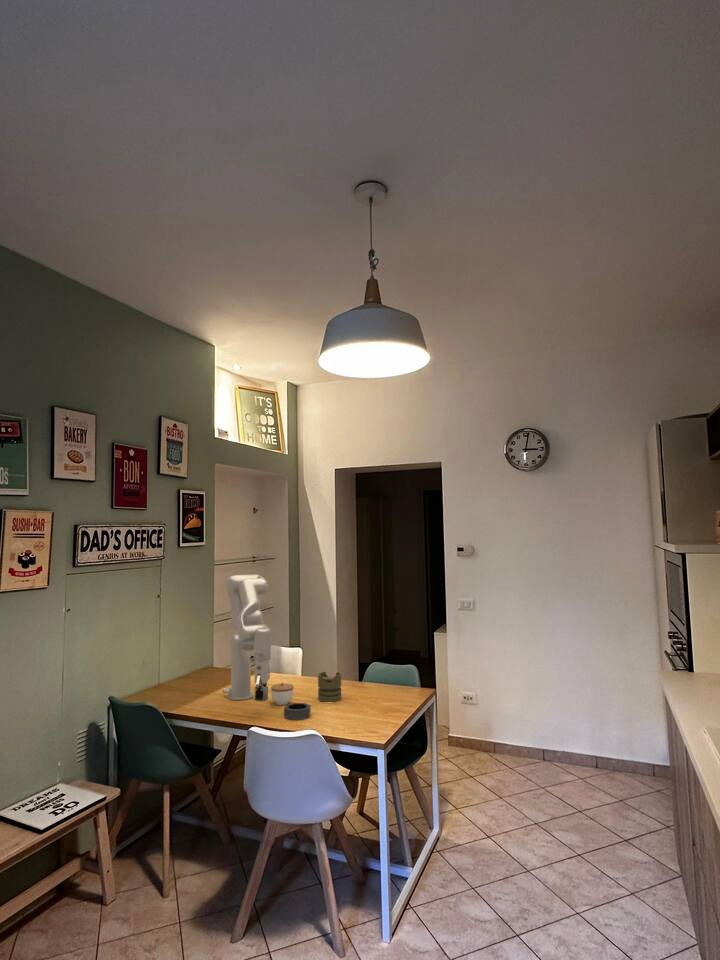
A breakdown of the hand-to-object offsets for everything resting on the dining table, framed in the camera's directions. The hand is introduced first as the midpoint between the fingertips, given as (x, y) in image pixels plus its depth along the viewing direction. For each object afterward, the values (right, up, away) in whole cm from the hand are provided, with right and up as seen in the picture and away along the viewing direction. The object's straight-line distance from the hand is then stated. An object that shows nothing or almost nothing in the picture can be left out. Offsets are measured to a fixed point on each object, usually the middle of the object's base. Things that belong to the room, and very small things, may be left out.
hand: (261, 696), depth 246 cm
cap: (0, -1, 0) cm, 1 cm away
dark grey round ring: (+17, -7, -3) cm, 18 cm away
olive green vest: (+30, -10, +22) cm, 38 cm away
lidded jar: (+7, -10, +17) cm, 21 cm away
